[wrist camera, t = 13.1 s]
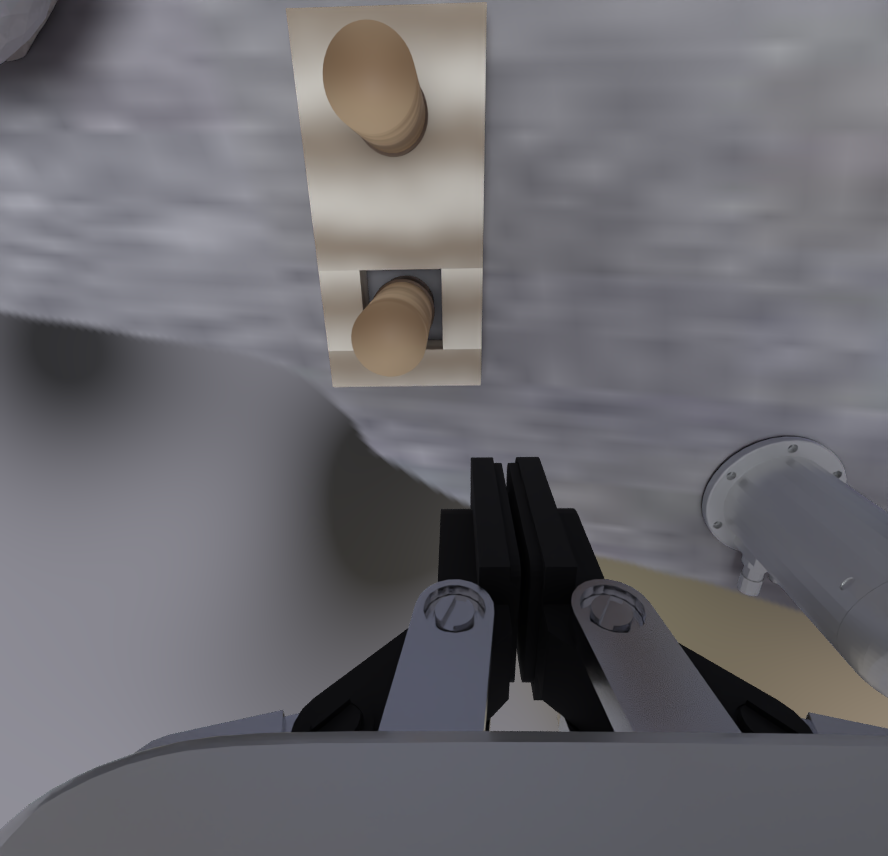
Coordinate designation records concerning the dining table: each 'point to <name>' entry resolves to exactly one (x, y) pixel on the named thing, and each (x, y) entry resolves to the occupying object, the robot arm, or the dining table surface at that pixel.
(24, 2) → the ceramic pitcher
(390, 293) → the oak peg
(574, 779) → the robot arm
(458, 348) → the board
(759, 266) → the dining table surface
